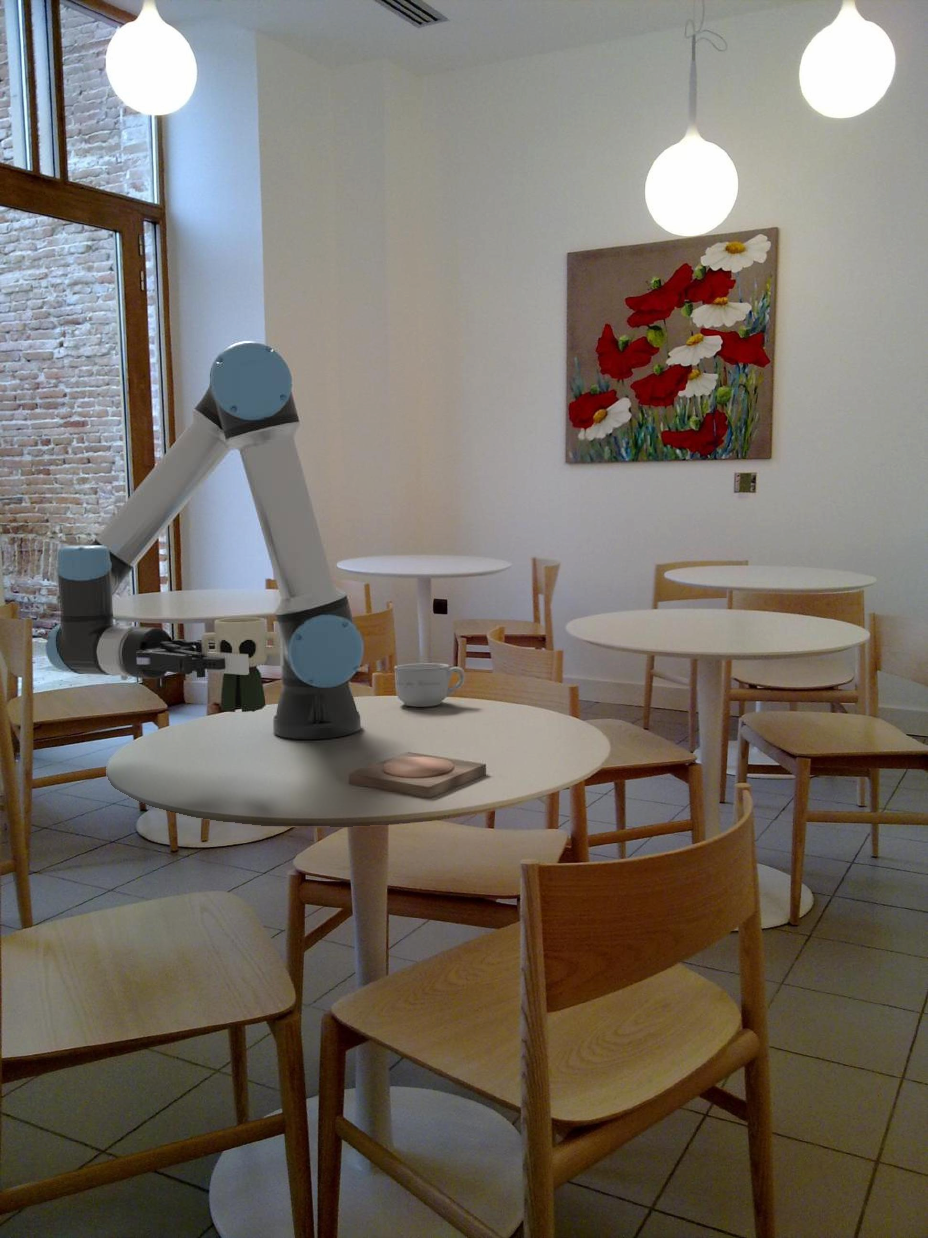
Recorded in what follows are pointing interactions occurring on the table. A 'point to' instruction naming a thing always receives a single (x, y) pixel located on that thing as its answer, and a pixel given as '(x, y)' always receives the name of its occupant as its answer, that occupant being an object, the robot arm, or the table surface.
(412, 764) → the walnut board
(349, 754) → the table surface
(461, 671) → the teacup
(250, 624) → the character mug
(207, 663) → the robot arm
